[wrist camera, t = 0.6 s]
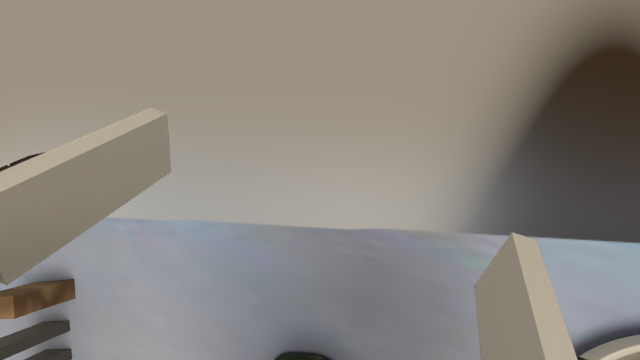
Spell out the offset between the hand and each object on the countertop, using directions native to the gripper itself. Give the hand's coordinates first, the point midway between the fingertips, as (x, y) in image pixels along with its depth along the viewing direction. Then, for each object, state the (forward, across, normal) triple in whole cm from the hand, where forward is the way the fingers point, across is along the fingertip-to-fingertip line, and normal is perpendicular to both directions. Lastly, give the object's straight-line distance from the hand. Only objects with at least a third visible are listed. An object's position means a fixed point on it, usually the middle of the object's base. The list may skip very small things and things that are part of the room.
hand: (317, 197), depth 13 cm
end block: (+13, +42, +46) cm, 63 cm away
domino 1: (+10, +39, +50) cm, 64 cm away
